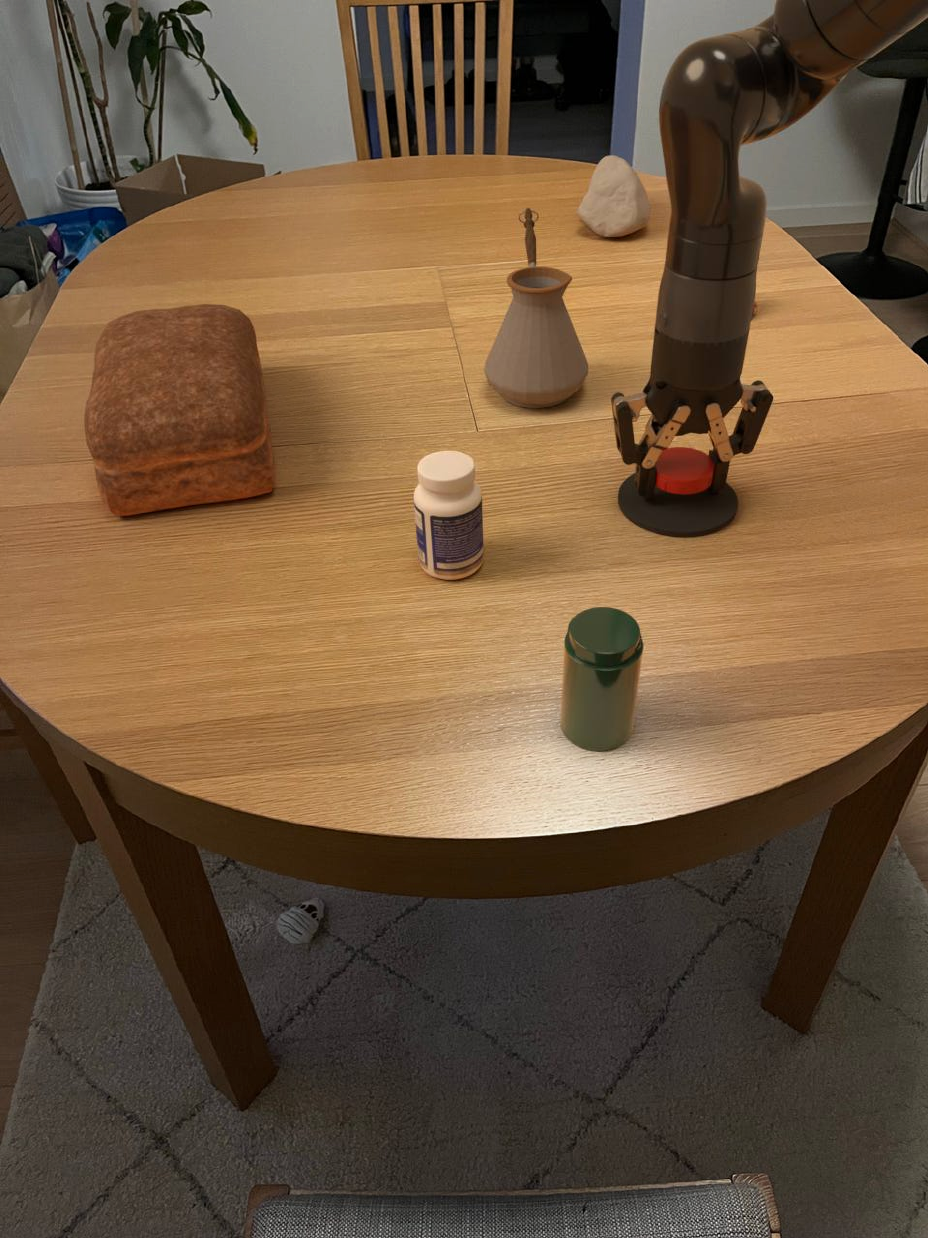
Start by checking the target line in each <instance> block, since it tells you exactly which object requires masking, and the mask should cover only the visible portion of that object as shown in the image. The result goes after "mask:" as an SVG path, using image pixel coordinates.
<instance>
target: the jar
mask: <svg viewBox="0 0 928 1238" xmlns="http://www.w3.org/2000/svg"><path fill="white" fill-rule="evenodd" d="M643 653H644V641H643V638H642V633H641V628H640V625H639V623H638V622H637V620H636V618H634V617H633V616H632V615H630V614H629V613H627V612H626V611H624V610H622V609H619V608H614V607H609V606H595V607H591V608H587V609H585V610H582V611H580V612H579V613H577V614H576V615H575V616H573V617H572V618H571V620H570V621H569V623H568V626H567V631H566V633H565V635H564V642H563V660H562V661H563V662H562V679H561V699H560V700H561V701H560V717H559V718H560V719H559V724H560V728H561V731H562V733H563V735H564V736H565V738H566V739H567V740H568V741H569V742H570V743H572V744H574V745H575V746H577V747H578V748H581V749H583V750H588V751H592V752H606V751H607V752H608V751H610V750H615V749H617V748H619V747H620V746H622V745H624V744H625V743H626V742H627V741H628V740H629V739H630V738H631V736H632V733H633V730H634V723H635V715H636V707H637V699H638V692H639V684H640V676H641V669H642V662H643V655H644V654H643Z"/></svg>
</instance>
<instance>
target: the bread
mask: <svg viewBox="0 0 928 1238" xmlns="http://www.w3.org/2000/svg"><path fill="white" fill-rule="evenodd" d="M93 357H94V359H93V363H94V364H93V366H94V367H93V368H94V369H93V373H92V377H91V379H92V380H91V387H90V391H89V395H88V397H87V399H86V402H85V408H84V409H85V410H84V425H83V426H84V436H85V442H86V446H87V448H88V450H89V453H90V455H91V457H92V459H93V462H94V470H95V471H94V472H95V480H96V483H97V489H98V492H99V495H100V498H101V501H102V504H103V506H105V508H106V509H108V510H109V511H110V512H111V513H112V514H113V515H114V516H115V518H118V517H126V516H133V515H139V514H145V513H151V512H157V511H163V510H169V509H174V508H182V507H186V506H187V507H189V506H195V505H204V504H211V503H212V504H213V503H221V502H227V501H236V500H242V499H249V498H252V497H257V496H261V495H264V494H268V493H271V492H272V491H273V488H274V483H275V467H274V465H275V464H274V448H273V443H272V431H271V430H272V429H271V427H270V424H269V420H268V413H267V412H268V411H267V402H266V401H267V400H266V394H265V393H266V392H265V385H264V378H263V377H264V375H263V369H262V364H261V357H260V352H259V349H258V342H257V334H256V330H255V326H254V324H253V322H252V321H251V319H250V317H248V316H247V315H246V314H245V313H244V312H243V311H242V310H240V309H239V308H235V307H231V306H228V305H225V304H214V303H213V304H212V303H201V304H190V305H182V306H178V307H173V308H153V309H144V310H136V311H133V312H130V313H127V314H124V315H121V316H119V317H118V318H115V319H113V320H111V321H109V322H108V323H107V324H106V325H105V327H104V328H103V331H102V333H101V334H100V337H99V338H98V341H97V342H96V345H95V349H94V356H93Z"/></svg>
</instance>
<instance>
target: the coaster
mask: <svg viewBox="0 0 928 1238" xmlns="http://www.w3.org/2000/svg"><path fill="white" fill-rule="evenodd" d="M634 482H635V472H634V473H631V475H629V476H627V478H625V479H624V480H623V481H622V483H621V485H620V487H618V493H617V494H618V495H617V503H618V507H619V509H620V511H621V513H622V514H623V516H625V517H626V519H628V520H629V521H630V522H631V523H633V524H634V525H636V526H638V527H639V528H641V529H644V530H646V531H648V532H651V533H654V534H659V535H661V536H667V537H675V538H695V537H702V536H707V535H710V534H713V533H716V532H718V531H720V530H723V529H724V528H725V527H727V526H728V525H729V524H730V523H732V522H733V520H734V519H735V517H736V515H737V512H738V508H739V498H738V495H737V493H736V491H735V490H734V488H733V487H732V486H731V485H730V484H729V483H728V481H726V485H725V486H724V488H723V489H719V494H718V495H709V493H708V491H707V490H706V489H705V490H704V491H701V492H698V493H694V494H674V493H670V492H666V491H664V490H661V489H660V488H658V487H657V486H655V489H654V497H653V501H646V502H645V501H644V499H643V497H642V496H639V494H638V491H637V489H636V487H635V484H634Z"/></svg>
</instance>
